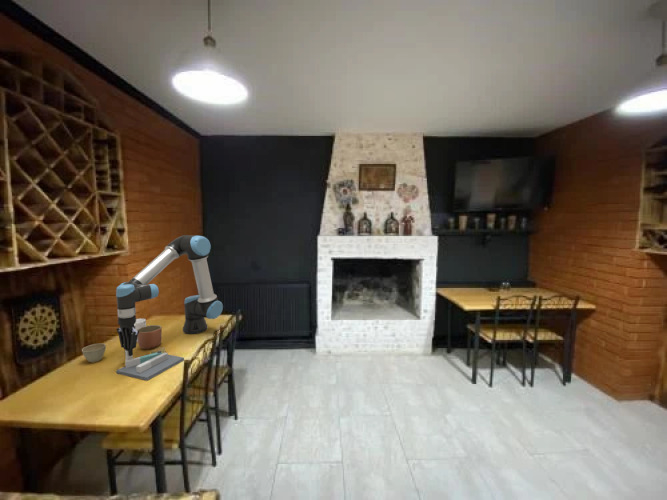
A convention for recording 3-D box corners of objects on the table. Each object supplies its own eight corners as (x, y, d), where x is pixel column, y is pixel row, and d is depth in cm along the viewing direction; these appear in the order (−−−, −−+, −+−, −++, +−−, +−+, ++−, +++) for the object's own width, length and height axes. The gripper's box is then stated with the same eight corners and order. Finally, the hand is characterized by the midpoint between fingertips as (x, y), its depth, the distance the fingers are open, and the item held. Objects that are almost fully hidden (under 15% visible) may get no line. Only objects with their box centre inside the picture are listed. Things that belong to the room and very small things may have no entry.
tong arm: (161, 356, 168) (160, 351, 168) (162, 358, 166) (162, 352, 166) (125, 366, 158) (125, 360, 157) (126, 368, 156) (126, 362, 155)
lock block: (160, 351, 174) (160, 346, 174) (165, 352, 173) (165, 347, 173) (151, 356, 168) (150, 351, 168) (156, 357, 167) (155, 352, 167)
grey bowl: (81, 360, 167) (80, 347, 166) (104, 354, 174) (103, 342, 174) (85, 366, 160) (83, 353, 159) (108, 360, 168) (107, 347, 167)
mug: (138, 344, 188) (137, 324, 186) (124, 344, 188) (123, 324, 186) (150, 336, 199) (149, 318, 198) (136, 336, 199) (135, 318, 198)
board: (157, 353, 176) (157, 344, 175) (186, 359, 169) (185, 349, 168) (116, 373, 154) (115, 362, 153) (147, 380, 147) (146, 369, 146)
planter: (140, 353, 176) (139, 334, 175) (135, 346, 185) (134, 328, 184) (164, 347, 184) (163, 328, 183) (159, 340, 194) (158, 323, 192)
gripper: (110, 316, 156) (113, 362, 158) (128, 320, 151) (131, 367, 154) (124, 312, 163) (127, 356, 165) (143, 315, 158) (145, 360, 161)
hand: (129, 361), depth 160 cm, fingers closed
